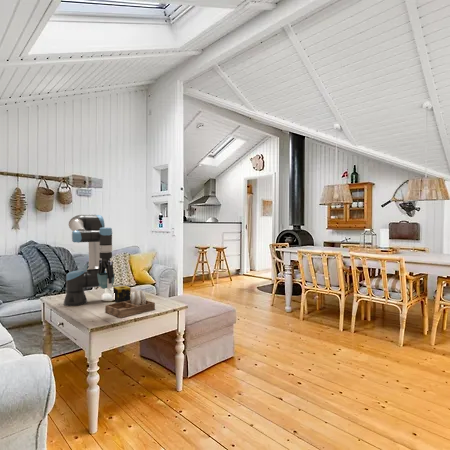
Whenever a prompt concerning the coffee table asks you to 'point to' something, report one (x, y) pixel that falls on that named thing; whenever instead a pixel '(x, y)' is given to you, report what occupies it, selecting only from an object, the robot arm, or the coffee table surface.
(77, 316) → the coffee table surface
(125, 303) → the tray
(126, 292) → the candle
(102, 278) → the flower pot
